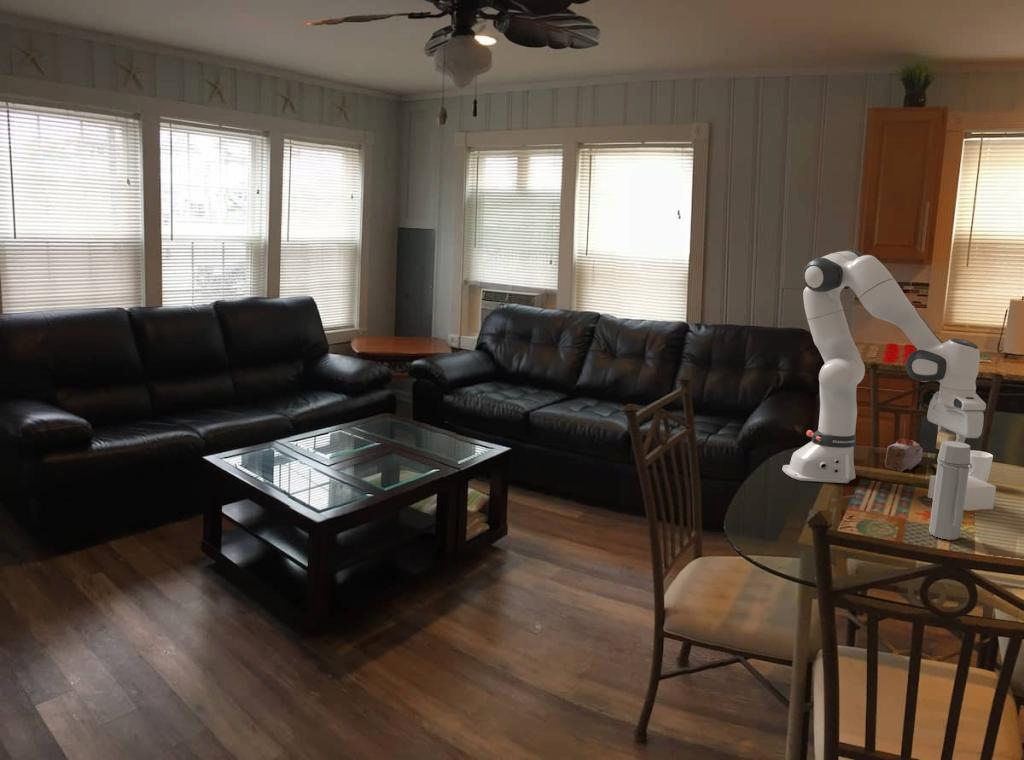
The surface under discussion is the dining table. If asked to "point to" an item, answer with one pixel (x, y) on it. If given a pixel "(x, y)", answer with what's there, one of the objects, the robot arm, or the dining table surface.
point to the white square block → (972, 493)
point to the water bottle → (950, 490)
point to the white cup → (980, 465)
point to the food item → (903, 455)
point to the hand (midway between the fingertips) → (949, 445)
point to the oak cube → (945, 437)
